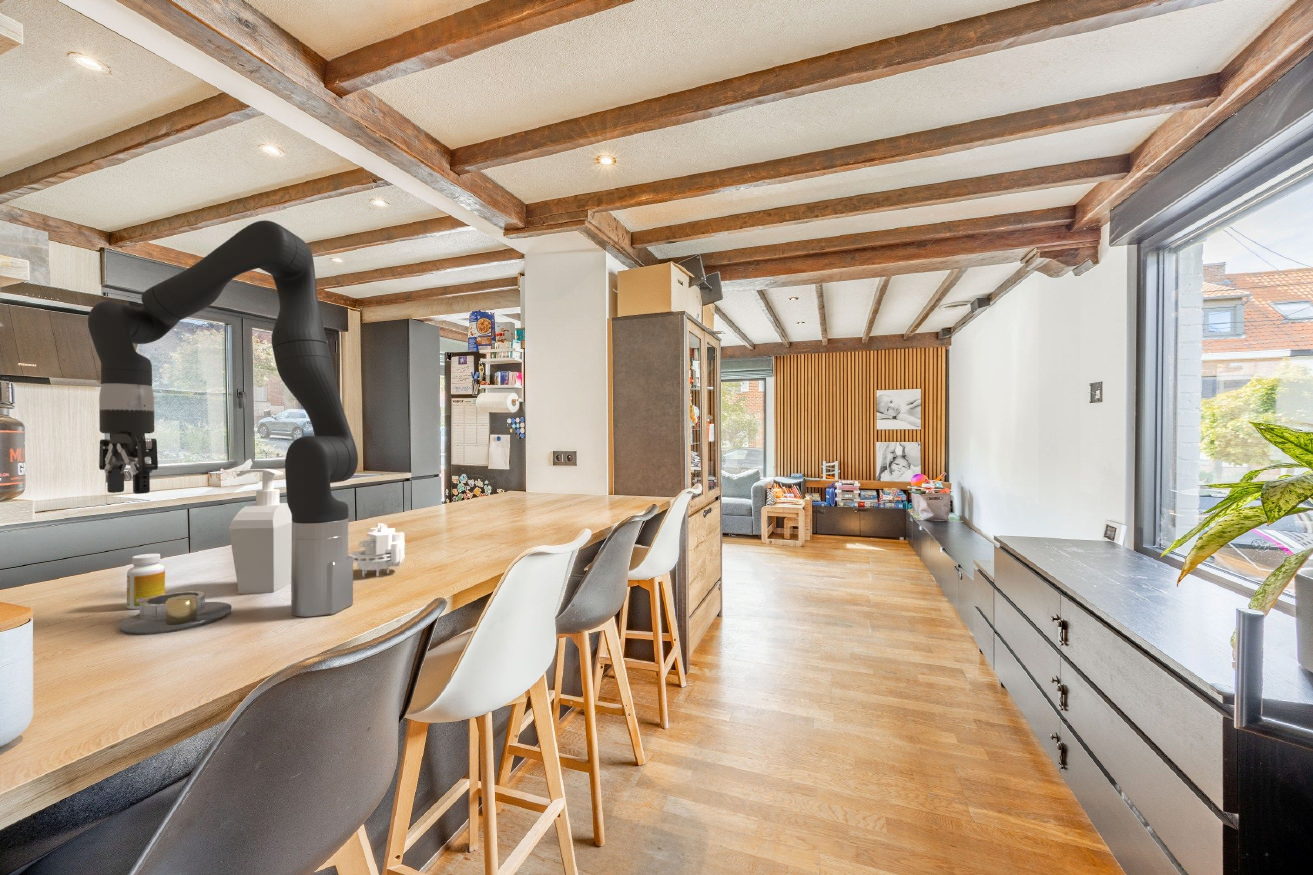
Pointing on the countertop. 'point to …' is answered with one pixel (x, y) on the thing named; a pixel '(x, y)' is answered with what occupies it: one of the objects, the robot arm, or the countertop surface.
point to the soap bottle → (262, 539)
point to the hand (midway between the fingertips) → (128, 492)
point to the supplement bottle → (144, 579)
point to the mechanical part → (380, 550)
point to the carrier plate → (162, 628)
